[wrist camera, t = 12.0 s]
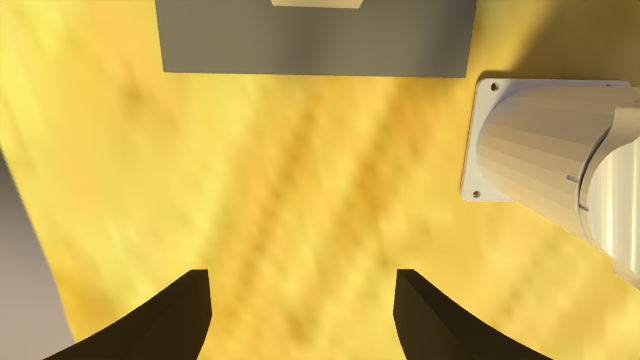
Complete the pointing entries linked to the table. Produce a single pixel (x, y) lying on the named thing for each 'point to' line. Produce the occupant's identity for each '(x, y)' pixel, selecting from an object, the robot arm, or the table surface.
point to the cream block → (319, 3)
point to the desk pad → (317, 38)
